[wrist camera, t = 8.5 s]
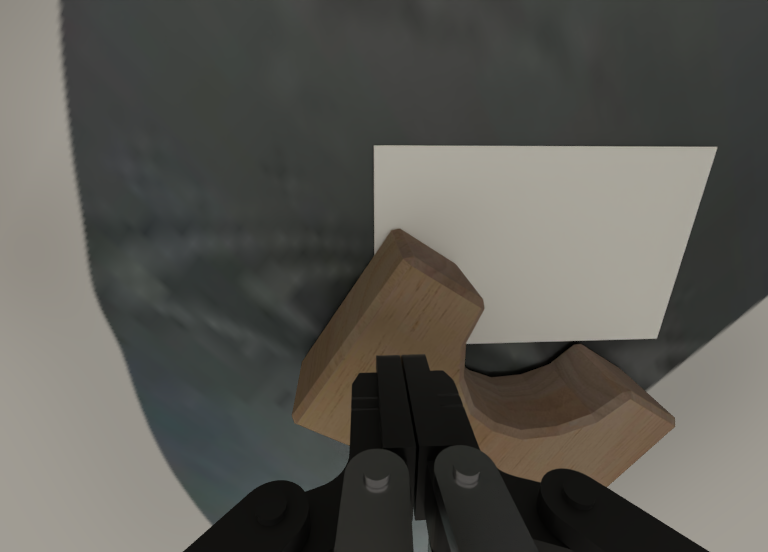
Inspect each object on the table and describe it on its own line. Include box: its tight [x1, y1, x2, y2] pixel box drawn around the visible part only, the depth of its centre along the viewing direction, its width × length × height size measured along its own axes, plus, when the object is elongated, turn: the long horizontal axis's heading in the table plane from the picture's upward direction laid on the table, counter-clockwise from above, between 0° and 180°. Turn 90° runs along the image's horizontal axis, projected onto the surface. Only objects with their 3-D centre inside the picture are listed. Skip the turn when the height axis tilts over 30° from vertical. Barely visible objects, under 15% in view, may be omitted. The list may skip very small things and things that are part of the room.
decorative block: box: [292, 229, 675, 487], centre depth 23 cm, size 11×6×20 cm
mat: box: [374, 145, 717, 344], centre depth 23 cm, size 20×12×1 cm, turn 90°
